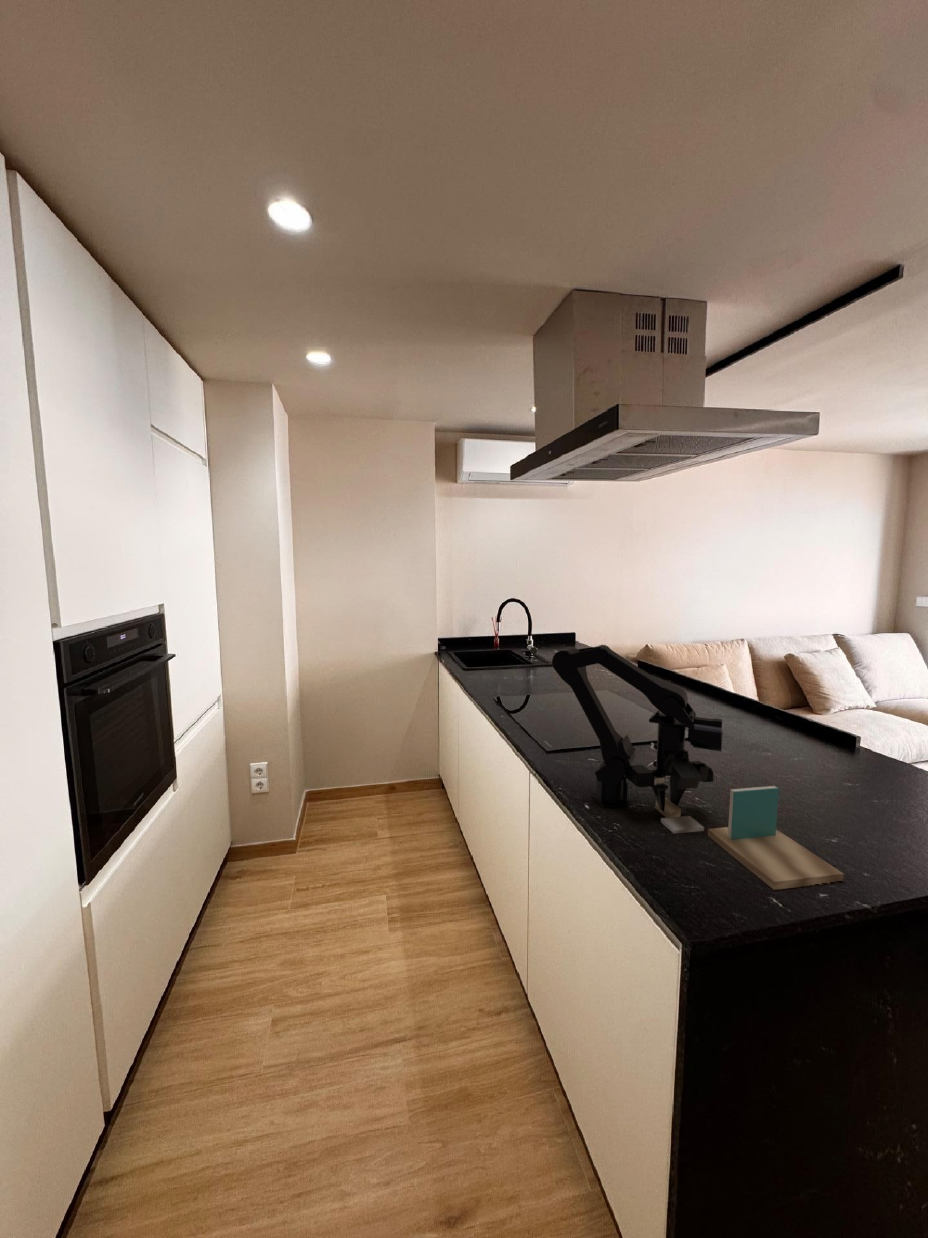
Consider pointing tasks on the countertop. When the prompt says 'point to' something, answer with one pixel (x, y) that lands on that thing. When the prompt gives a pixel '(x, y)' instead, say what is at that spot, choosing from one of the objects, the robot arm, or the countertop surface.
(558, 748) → the countertop surface
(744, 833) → the tile
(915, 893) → the countertop surface
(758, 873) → the oak board
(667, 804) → the turner
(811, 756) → the countertop surface
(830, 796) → the countertop surface
